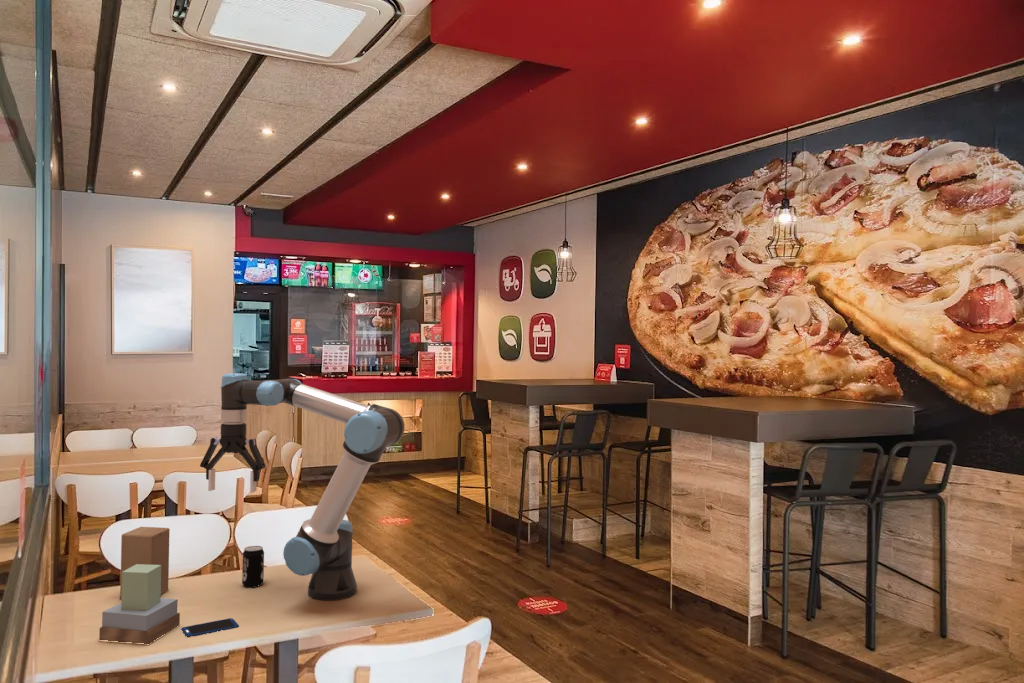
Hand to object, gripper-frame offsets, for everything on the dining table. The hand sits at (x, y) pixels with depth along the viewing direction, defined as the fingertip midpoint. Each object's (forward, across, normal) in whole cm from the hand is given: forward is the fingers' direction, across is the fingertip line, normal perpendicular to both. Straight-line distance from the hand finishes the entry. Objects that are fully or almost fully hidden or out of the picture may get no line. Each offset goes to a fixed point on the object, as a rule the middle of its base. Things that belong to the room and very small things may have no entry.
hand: (232, 491), depth 232 cm
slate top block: (+29, +10, +32) cm, 44 cm away
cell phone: (+33, -7, +26) cm, 43 cm away
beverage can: (+33, -2, -11) cm, 35 cm away
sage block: (+25, +9, +32) cm, 42 cm away
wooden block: (+33, +26, +4) cm, 42 cm away
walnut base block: (+33, +10, +32) cm, 47 cm away
